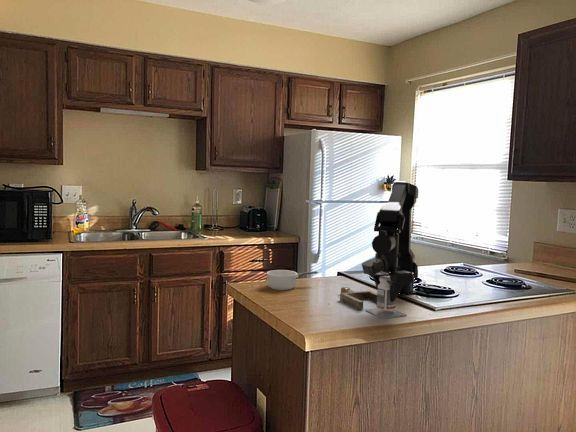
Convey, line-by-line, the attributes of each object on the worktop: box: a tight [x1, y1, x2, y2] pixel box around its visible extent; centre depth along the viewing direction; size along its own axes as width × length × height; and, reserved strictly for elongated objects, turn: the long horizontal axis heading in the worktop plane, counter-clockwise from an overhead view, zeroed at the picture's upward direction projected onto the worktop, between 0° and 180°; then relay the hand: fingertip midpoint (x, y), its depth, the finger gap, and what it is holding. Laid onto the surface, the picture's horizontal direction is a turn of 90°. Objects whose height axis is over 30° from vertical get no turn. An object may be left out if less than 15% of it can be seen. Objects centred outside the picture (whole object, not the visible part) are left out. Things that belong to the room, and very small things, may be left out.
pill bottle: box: [376, 276, 397, 311], centre depth 149 cm, size 6×6×10 cm
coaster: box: [365, 307, 408, 320], centre depth 149 cm, size 9×9×1 cm
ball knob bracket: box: [339, 286, 377, 310], centre depth 164 cm, size 12×20×2 cm, turn 24°
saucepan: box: [266, 269, 318, 291], centre depth 181 cm, size 12×20×6 cm, turn 109°
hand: (386, 299), depth 149 cm, fingers closed on pill bottle, 6 cm apart
